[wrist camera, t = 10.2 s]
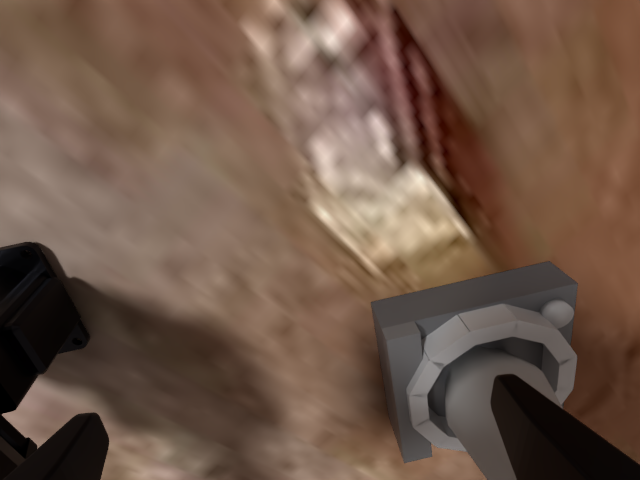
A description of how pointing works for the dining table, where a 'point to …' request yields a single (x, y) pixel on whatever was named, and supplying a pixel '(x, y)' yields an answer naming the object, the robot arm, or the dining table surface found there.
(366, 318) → the dining table surface
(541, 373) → the salt shaker
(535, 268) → the ringed square socket
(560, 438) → the robot arm
